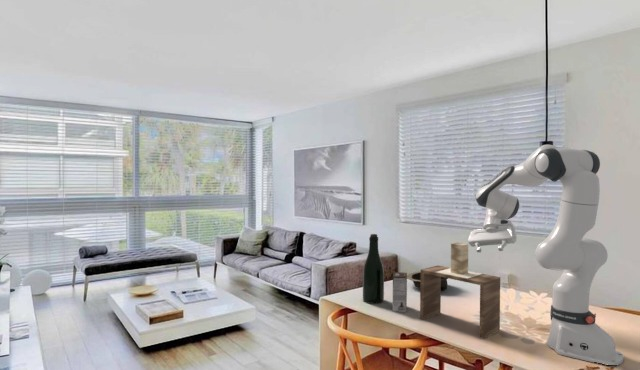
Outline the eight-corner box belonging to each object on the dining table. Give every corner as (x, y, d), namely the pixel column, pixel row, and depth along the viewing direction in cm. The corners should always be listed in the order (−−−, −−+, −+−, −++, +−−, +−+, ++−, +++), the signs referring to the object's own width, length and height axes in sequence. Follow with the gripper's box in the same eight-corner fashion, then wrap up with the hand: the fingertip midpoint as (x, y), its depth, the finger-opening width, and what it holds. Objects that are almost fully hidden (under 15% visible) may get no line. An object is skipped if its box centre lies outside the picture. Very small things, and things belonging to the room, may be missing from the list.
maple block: (468, 272, 164) (468, 244, 164) (461, 274, 161) (462, 245, 160) (456, 270, 168) (457, 242, 168) (450, 272, 164) (451, 243, 164)
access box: (499, 329, 158) (500, 276, 158) (483, 338, 149) (484, 282, 149) (437, 311, 179) (437, 264, 179) (420, 318, 170) (420, 269, 170)
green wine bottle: (360, 302, 192) (361, 235, 191) (364, 296, 202) (364, 232, 201) (382, 304, 189) (383, 235, 189) (385, 298, 199) (385, 233, 199)
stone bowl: (462, 288, 218) (461, 272, 217) (431, 299, 204) (431, 282, 203) (426, 278, 238) (426, 263, 237) (397, 287, 224) (396, 271, 223)
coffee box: (392, 305, 189) (393, 271, 188) (406, 306, 187) (406, 272, 187) (392, 311, 180) (392, 276, 179) (406, 312, 178) (407, 277, 178)
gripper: (468, 225, 187) (463, 247, 178) (514, 220, 173) (510, 243, 164) (473, 234, 189) (468, 257, 180) (519, 230, 176) (516, 254, 167)
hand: (489, 250), depth 172 cm, fingers open, 8 cm apart
